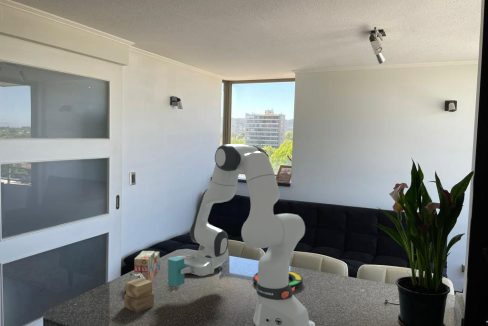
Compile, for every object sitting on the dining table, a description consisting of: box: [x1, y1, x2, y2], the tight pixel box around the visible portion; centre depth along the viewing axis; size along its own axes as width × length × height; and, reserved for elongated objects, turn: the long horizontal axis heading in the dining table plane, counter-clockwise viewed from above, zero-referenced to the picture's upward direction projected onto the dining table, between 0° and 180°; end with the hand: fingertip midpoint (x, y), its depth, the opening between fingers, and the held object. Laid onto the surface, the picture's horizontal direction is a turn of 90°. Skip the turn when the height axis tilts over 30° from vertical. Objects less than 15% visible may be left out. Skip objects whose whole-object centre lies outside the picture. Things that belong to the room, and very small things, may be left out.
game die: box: [128, 272, 145, 282], centre depth 163 cm, size 9×8×10 cm
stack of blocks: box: [133, 250, 161, 281], centre depth 180 cm, size 21×6×12 cm, turn 178°
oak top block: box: [125, 278, 153, 300], centre depth 148 cm, size 7×7×5 cm
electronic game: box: [252, 270, 304, 289], centre depth 174 cm, size 23×23×5 cm
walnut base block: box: [123, 292, 155, 314], centre depth 148 cm, size 8×8×5 cm
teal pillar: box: [167, 255, 186, 287], centre depth 149 cm, size 4×4×10 cm
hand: (174, 270), depth 148 cm, fingers closed on teal pillar, 4 cm apart
